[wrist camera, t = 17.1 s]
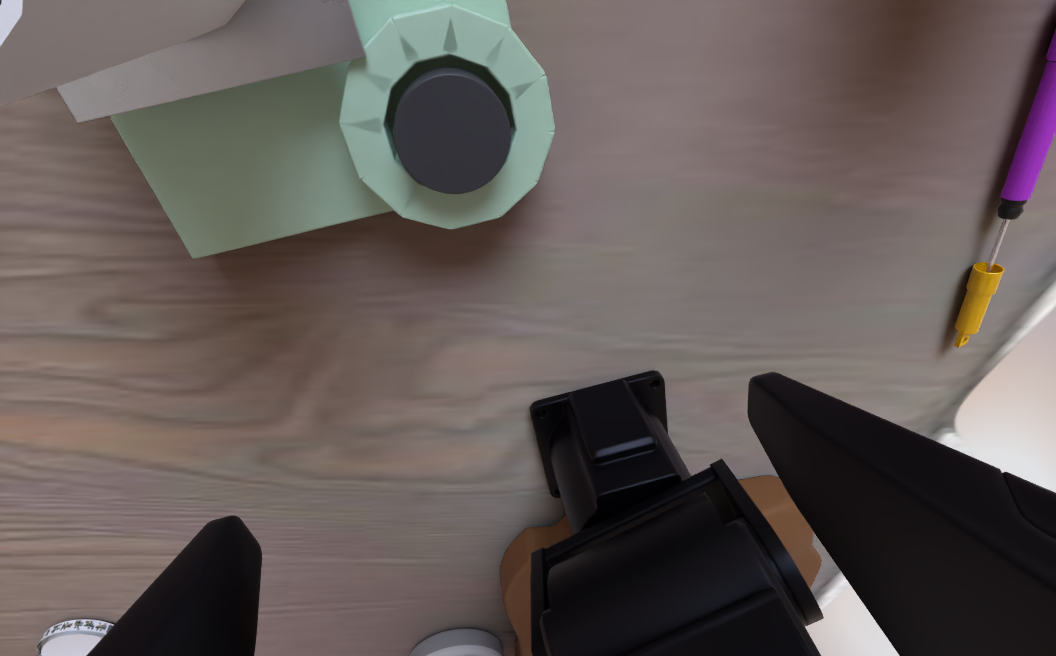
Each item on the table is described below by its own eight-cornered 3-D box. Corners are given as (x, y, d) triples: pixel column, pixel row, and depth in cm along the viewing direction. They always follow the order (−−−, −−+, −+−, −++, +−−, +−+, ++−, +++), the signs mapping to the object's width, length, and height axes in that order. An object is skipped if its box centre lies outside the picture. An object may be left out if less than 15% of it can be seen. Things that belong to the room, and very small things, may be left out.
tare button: (513, 166, 17) (521, 180, 16) (414, 190, 17) (413, 206, 16) (490, 55, 15) (497, 60, 14) (380, 81, 15) (376, 88, 14)
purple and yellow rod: (1065, -21, 19) (940, 343, 28) (1106, -23, 18) (964, 354, 27) (1112, -33, 20) (976, 326, 29) (1154, -35, 19) (1000, 336, 28)
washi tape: (24, 632, 28) (16, 644, 27) (103, 611, 28) (97, 623, 27) (73, 670, 30) (67, 682, 29) (147, 650, 30) (142, 662, 30)
